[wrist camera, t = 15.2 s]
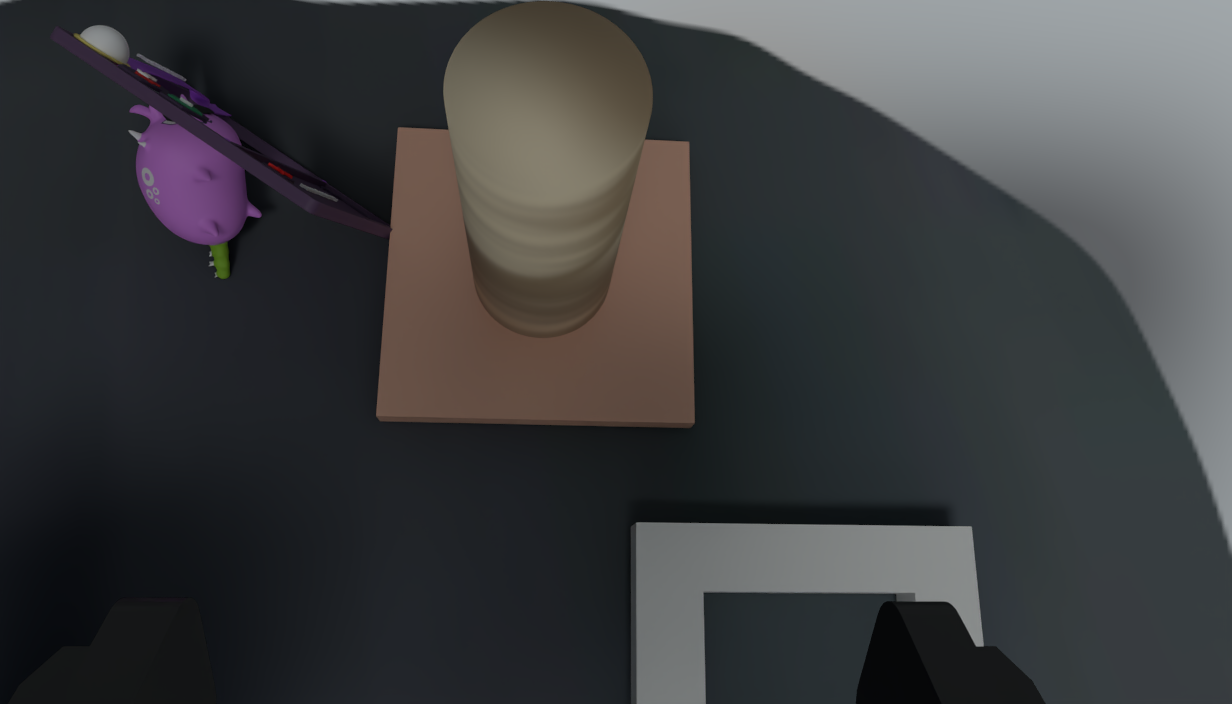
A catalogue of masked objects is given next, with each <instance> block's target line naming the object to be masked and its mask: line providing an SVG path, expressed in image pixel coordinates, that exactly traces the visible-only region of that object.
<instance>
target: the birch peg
mask: <svg viewBox="0 0 1232 704" xmlns="http://www.w3.org/2000/svg"><path fill="white" fill-rule="evenodd" d="M443 95H444V104H445V110H446V116H447V122H448V128H449V134H450V140H451V146H452V152H453V158H454V164H455V170H456V176H457V182H458V188H459V194H460V200H461V206H462V212H463V218H464V224H465V230H466V236H467V242H468V248H469V254H470V260H471V266H472V272H473V278H474V284H475V288H476V292H477V295H478V297H479V299H480V301H481V303H482V305H483V306H484V308H485V309H486V311H487V312H488V313H489V314H490V316H492V317H493V318H494V319H495V320H496V321H497V322H498V323H499V324H501V325H502V326H504V327H505V328H507V329H509V330H511V331H513V332H515V333H518V334H521V335H524V336H528V337H535V338H550V337H557V336H561V335H565V334H568V333H570V332H573V331H575V330H576V329H578V328H580V327H582V326H583V325H584V324H586V323H587V322H588V321H589V320H590V319H592V318H593V317H594V316H595V314H596V313H597V312H598V311H599V309H600V308H601V306H602V304H603V303H604V301H605V298H606V296H607V293H608V289H609V286H610V282H611V277H612V273H613V269H614V265H615V261H616V257H617V253H618V248H619V244H620V240H621V236H622V232H623V228H624V224H625V220H626V215H627V211H628V207H629V203H630V199H631V195H632V191H633V186H634V182H635V178H636V174H637V170H638V166H639V162H640V158H641V153H642V149H643V145H644V141H645V137H646V133H647V129H648V125H649V120H650V116H651V112H652V103H653V89H652V83H651V77H650V74H649V71H648V68H647V65H646V63H645V61H644V59H643V57H642V55H641V53H640V52H639V50H638V49H637V47H636V45H635V44H634V43H633V42H632V40H631V39H630V38H629V37H628V36H627V35H626V34H625V33H624V32H623V31H622V30H621V29H620V28H619V27H617V26H616V25H615V24H613V23H612V22H611V21H609V20H608V19H606V18H604V17H603V16H601V15H599V14H597V13H595V12H593V11H590V10H588V9H585V8H583V7H580V6H576V5H572V4H568V3H562V2H553V1H537V2H527V3H522V4H516V5H513V6H510V7H507V8H504V9H501V10H499V11H497V12H495V13H492V14H491V15H489V16H488V17H486V18H484V19H483V20H481V21H480V22H479V23H477V24H476V25H475V26H474V27H472V28H471V29H470V30H469V31H468V32H467V33H466V34H465V35H464V36H463V38H462V39H461V40H460V42H459V43H458V45H457V46H456V48H455V49H454V51H453V53H452V55H451V57H450V60H449V62H448V65H447V68H446V72H445V78H444V89H443Z"/></svg>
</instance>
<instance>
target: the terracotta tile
mask: <svg viewBox="0 0 1232 704" xmlns="http://www.w3.org/2000/svg"><path fill="white" fill-rule="evenodd" d="M390 228H391V229H393V230H392V231H391V232H390V240H389V253H388V266H387V279H386V293H385V306H384V319H383V332H382V345H381V358H380V371H379V385H378V398H377V411H376V417H377V418H378V419H379V421H392V422H438V423H484V424H529V425H575V426H620V427H666V428H691V427H692V426H693V425H694V424H695V408H694V359H693V309H692V260H691V211H690V161H689V142H682V141H662V140H645V141H644V145H643V149H642V153H641V158H640V162H639V166H638V170H637V174H636V178H635V182H634V186H633V191H632V195H631V199H630V203H629V207H628V211H627V215H626V220H625V224H624V228H623V232H622V236H621V240H620V244H619V248H618V253H617V257H616V261H615V265H614V269H613V273H612V277H611V282H610V286H609V289H608V293H607V296H606V298H605V301H604V303H603V304H602V306H601V308H600V309H599V311H598V312H597V313H596V314H595V316H594V317H593V318H592V319H590V320H589V321H588V322H587V323H586V324H584V325H583V326H582V327H580V328H578V329H576V330H575V331H573V332H570V333H568V334H565V335H561V336H557V337H550V338H535V337H528V336H524V335H521V334H518V333H515V332H513V331H511V330H509V329H507V328H505V327H504V326H502V325H501V324H499V323H498V322H497V321H496V320H495V319H494V318H493V317H492V316H490V314H489V313H488V312H487V311H486V309H485V308H484V306H483V305H482V303H481V301H480V299H479V297H478V295H477V292H476V288H475V284H474V278H473V272H472V266H471V260H470V254H469V248H468V242H467V236H466V230H465V224H464V218H463V212H462V206H461V200H460V194H459V188H458V182H457V176H456V170H455V164H454V158H453V152H452V146H451V140H450V134H449V130H442V129H422V128H402V127H398V135H397V148H396V161H395V174H394V187H393V201H392V214H391V227H390Z"/></svg>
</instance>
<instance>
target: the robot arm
mask: <svg viewBox="0 0 1232 704" xmlns="http://www.w3.org/2000/svg"><path fill="white" fill-rule="evenodd" d="M8 704H216V690H215V684H214V679H213V674H212V669H211V664H210V659H209V654H208V650H207V645H206V640H205V635H204V630H203V625H202V620H201V615H200V611H199V607H198V604H197V602H196V601H195V600H194V599H193V598H129V597H124V598H121V599H119V600H118V601H117V602H116V603H115V604H114V605H113V606H112V608H111V610H110V611H109V613H108V615H107V616H106V618H105V620H104V622H103V624H102V625H101V627H100V629H99V631H98V632H97V634H96V636H95V638H94V640H93V641H92V643H91V645H90V646H63V647H62V648H61V649H60V650H58V651H57V652H56V653H55V654H54V655H53V656H52V657H50V658H49V659H48V660H47V661H46V662H45V663H44V664H42V665H41V666H40V667H39V668H38V669H37V670H36V671H34V672H33V673H32V674H31V675H30V676H29V677H28V678H26V679H25V680H24V681H23V682H22V683H21V684H20V685H19V686H18V688H17V690H16V691H15V693H14V694H13V696H12V698H11V699H10V701H9V702H8ZM856 704H1045V702H1044V700H1043V699H1042V697H1041V695H1040V693H1039V692H1038V690H1037V688H1036V686H1035V685H1034V683H1033V681H1032V680H1031V679H1030V678H1029V677H1028V676H1027V675H1025V674H1024V673H1023V672H1022V671H1021V670H1020V669H1019V668H1018V667H1017V666H1016V665H1015V664H1014V663H1013V662H1012V661H1011V660H1010V659H1009V658H1007V657H1006V656H1005V655H1004V654H1003V653H1002V652H1001V651H1000V650H999V649H998V648H997V647H996V646H976V645H975V643H974V642H973V640H972V638H971V636H970V634H969V632H968V630H967V628H966V627H965V625H964V623H963V621H962V619H961V617H960V615H959V613H958V612H957V610H956V609H955V608H954V606H953V605H951V604H950V603H949V602H943V601H887V602H885V603H883V605H882V606H881V608H880V610H879V613H878V616H877V619H876V623H875V627H874V630H873V634H872V637H871V641H870V645H869V648H868V652H867V655H866V659H865V663H864V666H863V670H862V673H861V677H860V681H859V684H858V689H857V696H856Z"/></svg>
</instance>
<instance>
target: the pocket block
mask: <svg viewBox="0 0 1232 704" xmlns="http://www.w3.org/2000/svg"><path fill="white" fill-rule="evenodd" d="M703 593H859V594H896V601H943V602H949V603H950V604H951V605H953V606H954V608H955V609H956V610H957V612H958V613H959V615H960V617H961V619H962V621H963V623H964V625H965V627H966V628H967V630H968V632H969V634H970V636H971V638H972V640H973V642H974V643H975V645H976V646H984V645H983V635H982V625H981V615H980V605H979V595H978V586H977V576H976V566H975V556H974V546H973V536H972V527H964V526H885V525H805V524H726V523H647V522H636V523H635V524H634V525H632V526H631V704H706V691H705V645H704V599H703Z"/></svg>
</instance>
